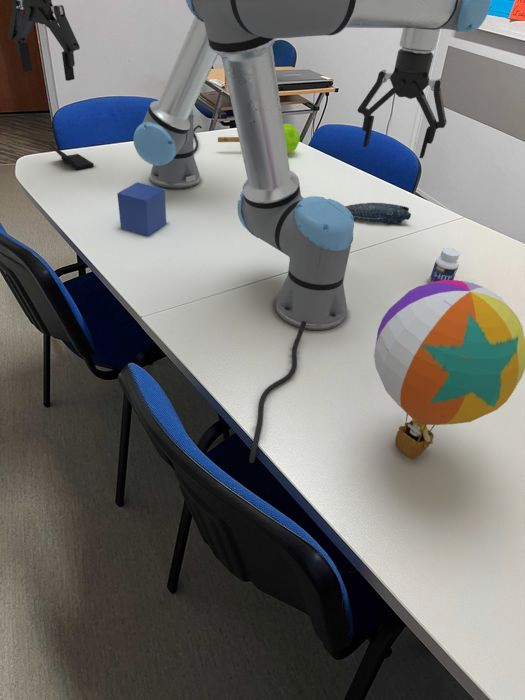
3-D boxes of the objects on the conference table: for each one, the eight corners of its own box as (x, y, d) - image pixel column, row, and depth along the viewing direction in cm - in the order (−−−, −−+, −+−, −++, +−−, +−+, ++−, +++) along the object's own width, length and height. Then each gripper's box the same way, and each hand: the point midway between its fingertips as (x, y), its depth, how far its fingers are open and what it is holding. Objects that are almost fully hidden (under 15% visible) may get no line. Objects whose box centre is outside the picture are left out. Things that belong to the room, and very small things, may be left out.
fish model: (409, 228, 149) (414, 212, 146) (336, 220, 150) (339, 204, 147) (407, 219, 154) (411, 203, 151) (336, 211, 155) (339, 195, 152)
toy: (324, 440, 84) (359, 279, 65) (398, 390, 94) (447, 240, 76) (424, 525, 73) (502, 362, 54) (495, 458, 83) (581, 302, 65)
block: (166, 223, 140) (164, 189, 134) (148, 236, 134) (145, 200, 128) (139, 216, 143) (137, 182, 137) (120, 228, 136) (117, 193, 130)
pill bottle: (427, 286, 124) (438, 253, 119) (429, 276, 128) (440, 244, 122) (450, 292, 123) (461, 259, 117) (451, 281, 127) (463, 249, 121)
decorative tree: (215, 117, 188) (295, 117, 193) (215, 147, 195) (292, 146, 200) (221, 131, 174) (307, 131, 180) (221, 163, 181) (304, 161, 186)
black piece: (98, 159, 169) (76, 137, 160) (86, 177, 167) (64, 156, 159) (77, 155, 175) (55, 133, 167) (66, 172, 174) (43, 151, 165)
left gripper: (87, -16, 125) (97, 80, 138) (3, -29, 131) (20, 65, 144) (66, -15, 119) (79, 86, 133) (-20, -28, 125) (0, 70, 139)
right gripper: (477, 56, 110) (448, 157, 124) (364, 39, 117) (347, 137, 130) (474, 61, 105) (443, 166, 118) (355, 43, 112) (339, 144, 125)
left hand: (48, 75), depth 138 cm, fingers open, 13 cm apart
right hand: (393, 151), depth 124 cm, fingers open, 13 cm apart
